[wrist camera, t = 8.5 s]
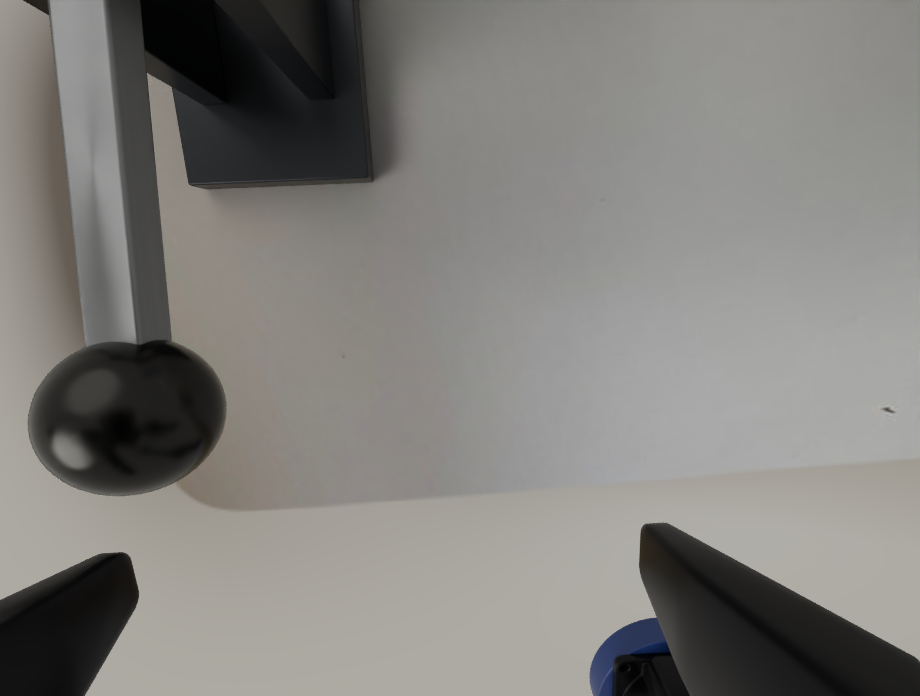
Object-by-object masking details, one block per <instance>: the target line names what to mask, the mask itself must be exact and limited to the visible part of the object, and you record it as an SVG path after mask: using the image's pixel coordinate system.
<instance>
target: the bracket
mask: <svg viewBox="0 0 920 696" xmlns="http://www.w3.org/2000/svg"><path fill="white" fill-rule="evenodd" d="M24 1H26V2H27V3H29V4H30V5H32V6H34V7H36V8H37V9H39V10H41V11H43V12H44V13H46V14H48V15H49V9H48V0H24ZM140 6H141V17H142V27H143V38H144V49H145V59H146V70H147V73H149V74H150V75H152V76H154V77H156V78H157V79H159V80H161V81H162V82H164V83H166V84H168V85H169V86H171V87H172V90H173V96H174V102H175V108H176V113H177V119H178V125H179V131H180V137H181V142H182V148H183V154H184V160H185V166H186V171H187V177H188V183H189V185H191V186H195V187H199V188H203V189H223V188H247V187H271V186H294V185H318V184H342V183H366V182H373V169H372V157H371V145H370V133H369V120H368V108H367V96H366V84H365V72H364V60H363V48H362V35H361V23H360V11H359V0H140Z"/></svg>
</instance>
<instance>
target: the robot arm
mask: <svg viewBox="0 0 920 696" xmlns="http://www.w3.org/2000/svg"><path fill="white" fill-rule="evenodd" d="M639 560H640V561H639V568H640V574H641V578H642V581H643V583H644V586H645V588H646V591H647V593H648V596H649V599H650V601H651V604H652V606H653V609H654V611H655V614H656V616H657V619H658V621H659V624H660V627H661V629H662V632H663V634H664V637H665V639H666V642H667V644H668V647H669V649H670V652H665V653H646V654H628V655H619V656H617V657H616V658H615V659H614V661H613V677H612V696H920V662H919V660H918V659H917V658H915V657H914V656H912V655H910V654H908V653H906V652H905V651H902V650H901V649H899V648H897V647H895V646H893V645H891V644H890V643H888V642H886V641H884V640H882V639H881V638H879V637H877V636H875V635H873V634H871V633H869V632H868V631H866V630H864V629H862V628H860V627H858V626H857V625H854V624H853V623H851V622H849V621H847V620H845V619H844V618H842V617H840V616H838V615H836V614H834V613H833V612H831V611H829V610H827V609H825V608H823V607H821V606H820V605H818V604H816V603H814V602H812V601H810V600H808V599H807V598H805V597H803V596H801V595H799V594H797V593H796V592H794V591H792V590H790V589H788V588H786V587H785V586H783V585H781V584H779V583H777V582H775V581H773V580H771V579H770V578H768V577H766V576H764V575H762V574H761V573H759V572H757V571H755V570H753V569H751V568H749V567H747V566H746V565H744V564H742V563H740V562H738V561H736V560H735V559H733V558H731V557H729V556H727V555H725V554H724V553H722V552H720V551H718V550H716V549H714V548H712V547H710V546H709V545H707V544H705V543H703V542H701V541H700V540H698V539H696V538H694V537H692V536H690V535H688V534H687V533H685V532H683V531H681V530H679V529H677V528H676V527H674V526H672V525H670V524H668V523H652V524H645V525H643V527H642V529H641V537H640V559H639ZM138 598H139V591H138V586H137V582H136V578H135V574H134V570H133V565H132V561H131V558H130V557H129V556H128V554H126V553H123V552H119V553H102V554H98V555H96V556H94V557H92V558H89V559H87V560H85V561H83V562H81V563H79V564H77V565H74V566H72V567H70V568H68V569H66V570H64V571H61V572H59V573H57V574H55V575H53V576H51V577H49V578H47V579H44V580H42V581H40V582H38V583H36V584H34V585H32V586H29V587H27V588H25V589H23V590H21V591H19V592H16V593H14V594H12V595H10V596H8V597H6V598H4V599H1V600H0V696H85V694H86V692H87V691H88V689H89V687H90V686H91V684H92V682H93V680H94V679H95V677H96V675H97V674H98V672H99V670H100V668H101V667H102V665H103V663H104V662H105V660H106V658H107V656H108V654H109V653H110V651H111V649H112V647H113V646H114V644H115V642H116V641H117V639H118V637H119V635H120V634H121V632H122V630H123V629H124V627H125V625H126V624H127V622H128V620H129V618H130V617H131V615H132V613H133V612H134V610H135V608H136V605H137V603H138Z"/></svg>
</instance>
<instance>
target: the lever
mask: <svg viewBox="0 0 920 696" xmlns="http://www.w3.org/2000/svg"><path fill="white" fill-rule="evenodd" d="M48 9H49V18H50V27H51V35H52V45H53V55H54V64H55V72H56V81H57V91H58V101H59V110H60V119H61V128H62V138H63V146H64V156H65V164H66V173H67V183H68V193H69V201H70V211H71V220H72V229H73V239H74V248H75V257H76V266H77V275H78V285H79V293H80V302H81V312H82V322H83V331H84V340H85V347H84V348H82V349H80V350H78V351H77V352H75V353H73V354H71V355H69V356H68V357H66V358H65V359H64V360H63V361H61V362H60V363H59V364H58V365H56V366H55V367H54V368H53V369H52V370H51V371H50V372H49V373H48V374H47V376H46V377H45V379H44V380H43V381H42V382H41V384H40V385H39V387H38V389H37V390H36V392H35V394H34V397H33V399H32V402H31V406H30V410H29V414H28V433H29V438H30V442H31V444H32V447H33V449H34V452H35V454H36V455H37V457H38V458H39V460H40V462H41V463H42V464H43V465H44V466H45V468H46V469H47V470H49V471H50V472H51V473H52V474H53V475H54V476H56V477H57V478H58V479H60V480H61V481H63V482H65V483H66V484H68V485H70V486H72V487H74V488H77V489H79V490H83V491H86V492H90V493H93V494H98V495H106V496H107V495H108V496H129V495H137V494H143V493H147V492H151V491H155V490H158V489H161V488H163V487H166V486H168V485H171V484H173V483H175V482H177V481H178V480H180V479H182V478H184V477H185V476H186V475H188V474H189V473H191V472H192V471H193V470H195V469H196V468H197V467H198V466H199V465H200V464H201V463H202V462H203V461H204V460H205V459H206V458H207V457H208V456H209V454H210V453H211V452H212V451H213V449H214V447H215V446H216V444H217V442H218V440H219V439H220V436H221V434H222V431H223V428H224V425H225V420H226V397H225V393H224V389H223V386H222V384H221V382H220V379H219V378H218V376H217V374H216V373H215V372H214V370H213V369H212V368H211V366H210V365H209V364H208V363H207V362H206V361H205V360H204V359H203V358H201V357H200V356H199V355H198V354H196V353H195V352H193V351H191V350H190V349H188V348H186V347H184V346H182V345H180V344H177V343H175V342H172V336H171V325H170V315H169V304H168V294H167V283H166V272H165V262H164V251H163V240H162V230H161V219H160V208H159V198H158V187H157V176H156V166H155V155H154V145H153V134H152V123H151V113H150V102H149V91H148V81H147V70H146V59H145V49H144V38H143V27H142V17H141V6H140V0H48Z"/></svg>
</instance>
